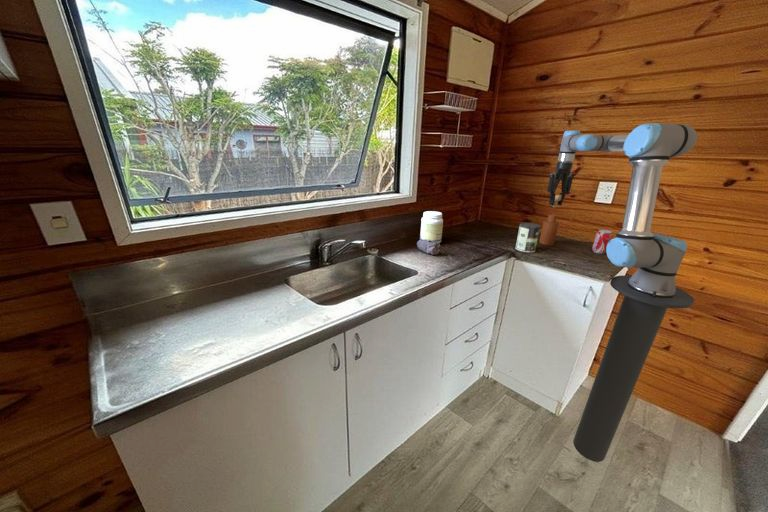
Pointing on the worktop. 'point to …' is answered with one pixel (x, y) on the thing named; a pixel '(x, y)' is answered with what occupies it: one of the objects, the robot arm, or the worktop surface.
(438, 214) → the supplement tub
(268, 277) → the worktop surface
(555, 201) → the stopper
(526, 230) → the coffee can
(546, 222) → the bottle
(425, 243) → the perforated stone tool
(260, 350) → the worktop surface
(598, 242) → the soda can
